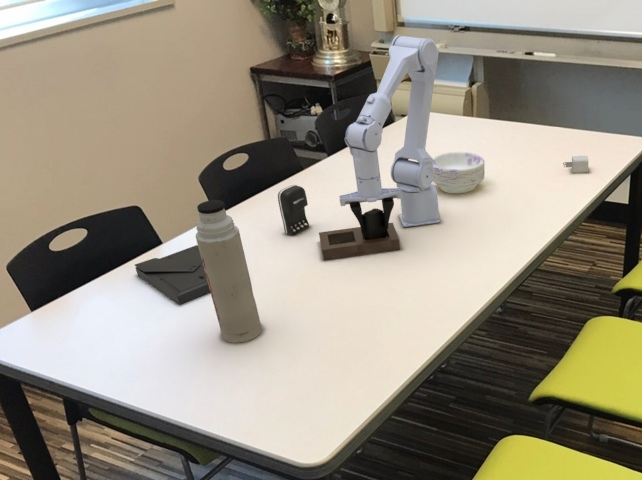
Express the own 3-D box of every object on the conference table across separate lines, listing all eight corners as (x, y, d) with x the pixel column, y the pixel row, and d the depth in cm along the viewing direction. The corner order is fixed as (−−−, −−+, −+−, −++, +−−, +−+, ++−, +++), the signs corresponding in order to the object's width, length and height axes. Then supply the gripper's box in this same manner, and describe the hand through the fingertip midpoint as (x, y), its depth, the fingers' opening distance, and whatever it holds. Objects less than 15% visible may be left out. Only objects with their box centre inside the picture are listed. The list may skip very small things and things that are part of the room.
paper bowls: (495, 183, 225) (494, 155, 220) (465, 202, 215) (464, 173, 210) (451, 174, 232) (449, 147, 227) (420, 192, 222) (417, 164, 217)
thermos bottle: (218, 344, 160) (183, 214, 144) (225, 323, 166) (192, 197, 150) (258, 341, 160) (227, 211, 144) (264, 320, 167) (235, 194, 151)
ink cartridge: (380, 237, 197) (376, 207, 193) (386, 239, 196) (383, 209, 191) (365, 244, 194) (361, 213, 190) (371, 246, 193) (367, 216, 188)
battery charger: (294, 237, 200) (286, 194, 194) (283, 234, 202) (275, 191, 196) (314, 227, 205) (306, 184, 198) (303, 224, 207) (295, 182, 200)
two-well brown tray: (393, 232, 200) (392, 222, 199) (400, 249, 192) (399, 239, 191) (320, 242, 197) (318, 232, 196) (323, 260, 189) (321, 249, 187)
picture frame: (137, 275, 186) (179, 304, 174) (134, 264, 185) (176, 293, 172) (199, 252, 195) (243, 279, 183) (196, 242, 194) (240, 268, 181)
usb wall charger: (587, 173, 228) (588, 159, 226) (563, 174, 229) (564, 160, 226) (586, 168, 232) (587, 154, 229) (562, 169, 232) (563, 155, 230)
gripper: (338, 185, 181) (346, 240, 189) (401, 177, 183) (406, 231, 191) (335, 174, 187) (343, 228, 194) (396, 167, 189) (402, 220, 197)
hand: (374, 229), depth 193 cm, fingers closed on ink cartridge, 5 cm apart
